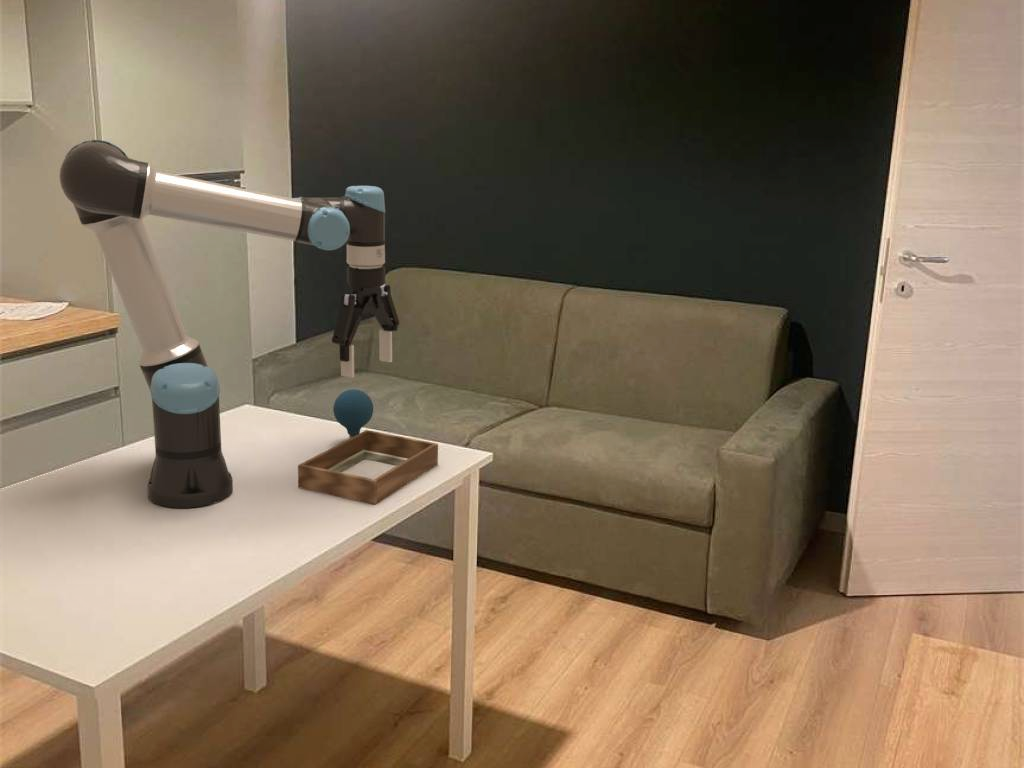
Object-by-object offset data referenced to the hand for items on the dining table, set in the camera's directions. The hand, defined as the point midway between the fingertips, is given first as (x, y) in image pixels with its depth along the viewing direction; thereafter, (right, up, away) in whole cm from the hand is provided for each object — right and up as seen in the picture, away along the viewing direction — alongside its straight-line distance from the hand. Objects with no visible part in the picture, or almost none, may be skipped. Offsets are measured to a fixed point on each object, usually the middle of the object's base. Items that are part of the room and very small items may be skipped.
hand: (367, 368), depth 215 cm
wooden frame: (+2, -21, -7) cm, 22 cm away
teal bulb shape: (-4, -16, +10) cm, 20 cm away
